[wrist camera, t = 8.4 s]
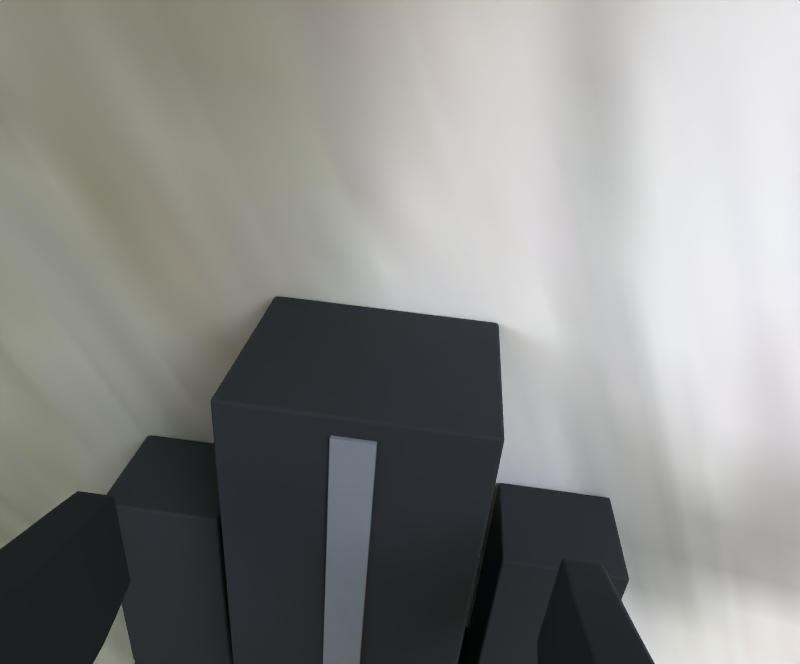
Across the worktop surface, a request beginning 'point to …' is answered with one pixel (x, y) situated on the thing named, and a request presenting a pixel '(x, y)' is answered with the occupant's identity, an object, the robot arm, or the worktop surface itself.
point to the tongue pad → (356, 482)
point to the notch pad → (206, 576)
